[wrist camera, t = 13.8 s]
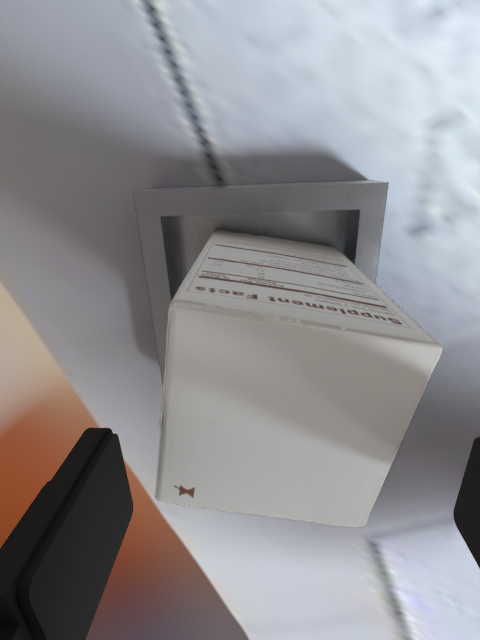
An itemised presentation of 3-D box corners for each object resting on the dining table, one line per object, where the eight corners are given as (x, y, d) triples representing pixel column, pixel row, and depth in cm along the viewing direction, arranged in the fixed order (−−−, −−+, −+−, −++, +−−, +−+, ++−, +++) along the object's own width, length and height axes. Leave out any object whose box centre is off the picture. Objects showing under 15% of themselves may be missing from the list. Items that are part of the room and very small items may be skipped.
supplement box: (308, 352, 23) (365, 538, 12) (199, 335, 23) (145, 508, 11) (339, 243, 20) (456, 348, 9) (213, 222, 20) (160, 300, 8)
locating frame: (369, 180, 19) (388, 182, 16) (348, 369, 24) (361, 395, 22) (149, 188, 20) (133, 191, 17) (174, 372, 25) (164, 398, 22)
